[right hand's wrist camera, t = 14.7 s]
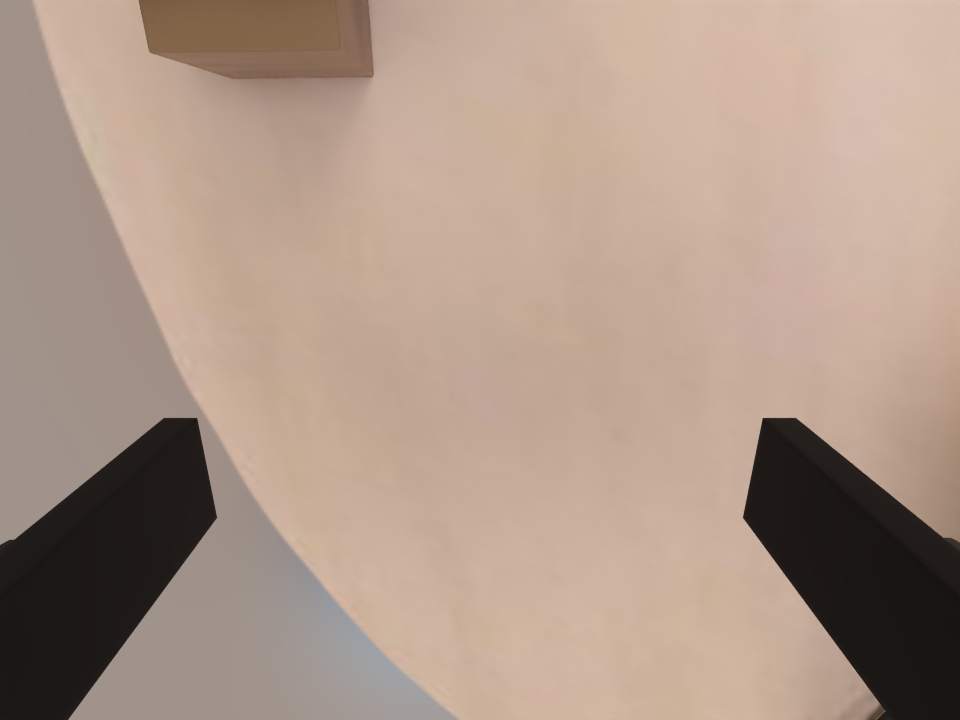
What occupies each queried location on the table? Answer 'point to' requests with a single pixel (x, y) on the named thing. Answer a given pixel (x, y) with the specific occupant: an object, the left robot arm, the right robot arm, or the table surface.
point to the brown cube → (263, 36)
